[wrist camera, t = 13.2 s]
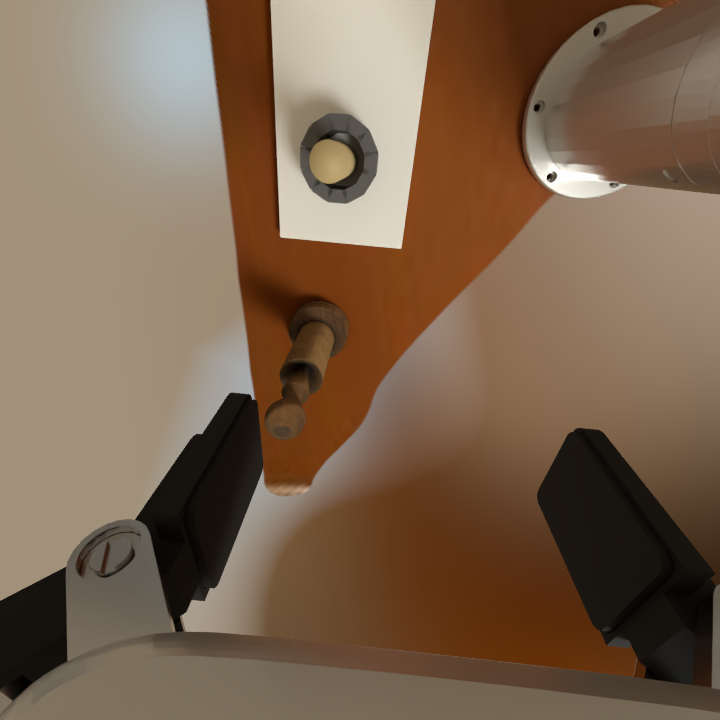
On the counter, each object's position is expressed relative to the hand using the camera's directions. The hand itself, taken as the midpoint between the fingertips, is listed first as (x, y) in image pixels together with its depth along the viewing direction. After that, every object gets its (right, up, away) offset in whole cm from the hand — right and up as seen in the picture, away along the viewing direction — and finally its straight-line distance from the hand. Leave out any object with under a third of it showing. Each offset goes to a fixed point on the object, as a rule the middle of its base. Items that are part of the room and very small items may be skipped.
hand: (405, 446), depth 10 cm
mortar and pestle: (-6, +7, +30) cm, 31 cm away
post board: (-2, +25, +18) cm, 31 cm away
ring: (-3, +20, +19) cm, 28 cm away
